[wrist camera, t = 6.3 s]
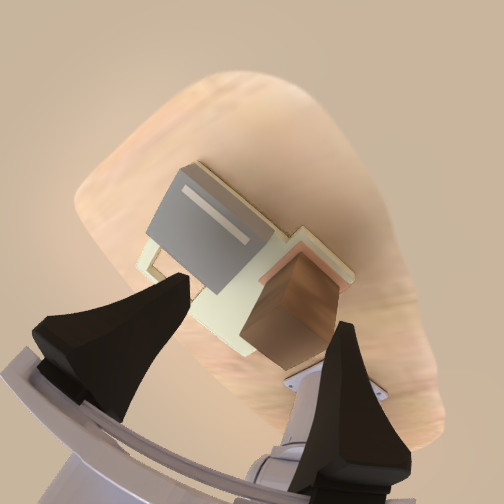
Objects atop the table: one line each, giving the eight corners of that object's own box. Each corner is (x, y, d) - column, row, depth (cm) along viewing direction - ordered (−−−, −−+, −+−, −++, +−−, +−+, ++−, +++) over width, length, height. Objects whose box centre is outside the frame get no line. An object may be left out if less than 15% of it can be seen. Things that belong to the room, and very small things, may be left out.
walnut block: (340, 286, 20) (331, 346, 15) (303, 313, 22) (285, 370, 17) (300, 251, 19) (280, 304, 14) (266, 282, 22) (238, 335, 17)
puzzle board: (355, 273, 20) (354, 282, 19) (247, 350, 28) (243, 358, 27) (207, 145, 19) (199, 147, 18) (140, 261, 27) (133, 267, 26)
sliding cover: (275, 230, 19) (266, 243, 18) (226, 281, 23) (216, 296, 21) (194, 162, 19) (178, 169, 17) (159, 223, 23) (144, 233, 21)
